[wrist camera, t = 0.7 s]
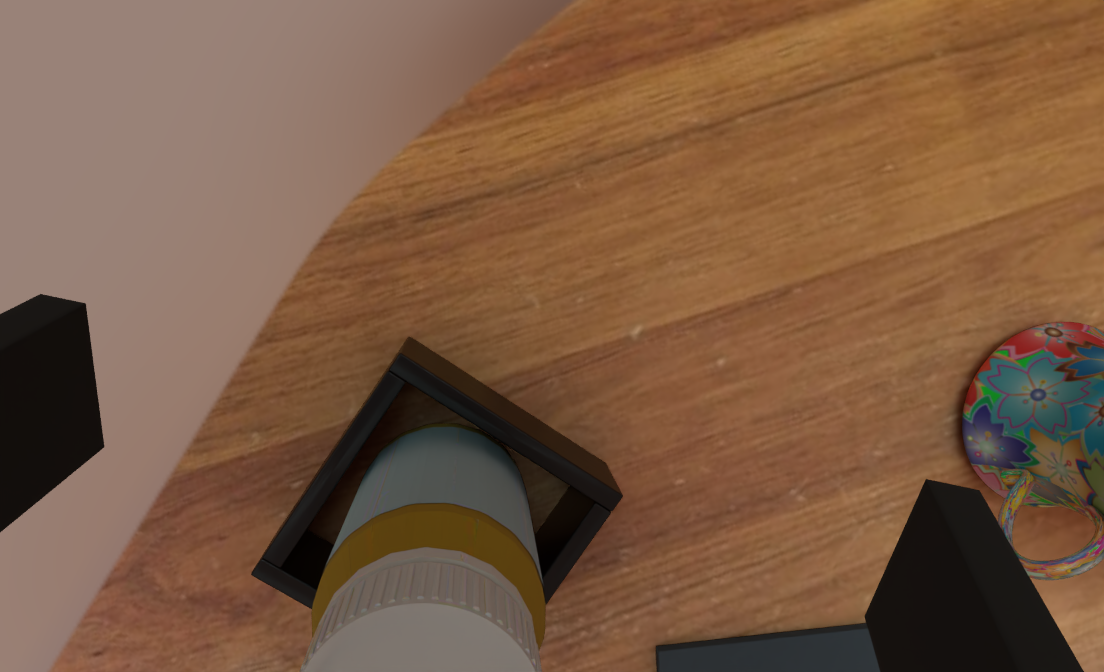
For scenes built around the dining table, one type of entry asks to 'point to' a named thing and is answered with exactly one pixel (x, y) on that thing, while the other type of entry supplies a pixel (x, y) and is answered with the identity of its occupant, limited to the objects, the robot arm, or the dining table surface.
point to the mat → (776, 652)
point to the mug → (1043, 432)
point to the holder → (592, 489)
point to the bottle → (433, 564)
